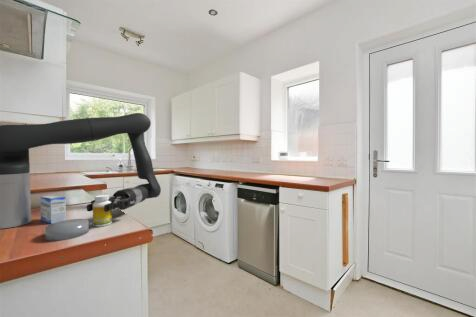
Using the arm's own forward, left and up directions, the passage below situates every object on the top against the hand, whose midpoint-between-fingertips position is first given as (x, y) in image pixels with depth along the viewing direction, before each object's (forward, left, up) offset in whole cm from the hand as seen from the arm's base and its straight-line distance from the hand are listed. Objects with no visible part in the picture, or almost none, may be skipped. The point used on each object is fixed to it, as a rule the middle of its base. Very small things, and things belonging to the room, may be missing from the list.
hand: (96, 208), depth 70 cm
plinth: (-4, -6, -6) cm, 10 cm away
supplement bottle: (0, +3, -6) cm, 7 cm away
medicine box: (-21, +6, -6) cm, 23 cm away
